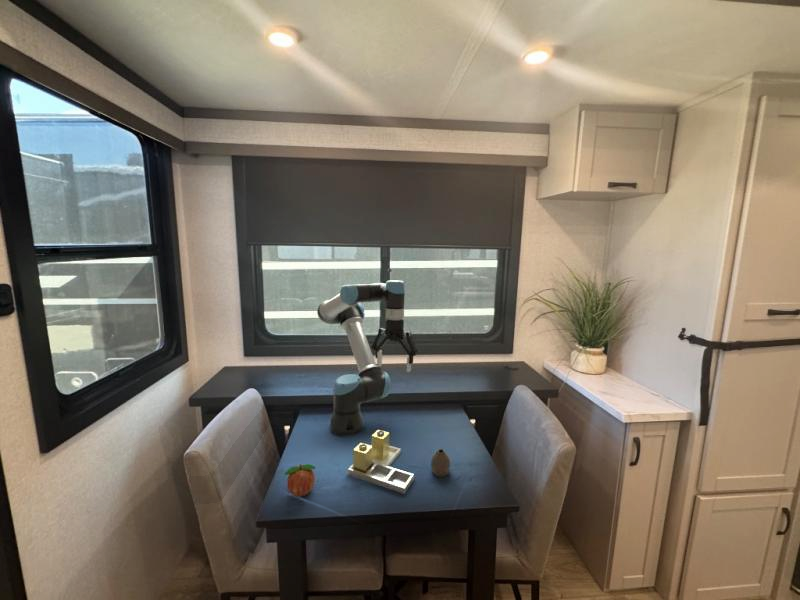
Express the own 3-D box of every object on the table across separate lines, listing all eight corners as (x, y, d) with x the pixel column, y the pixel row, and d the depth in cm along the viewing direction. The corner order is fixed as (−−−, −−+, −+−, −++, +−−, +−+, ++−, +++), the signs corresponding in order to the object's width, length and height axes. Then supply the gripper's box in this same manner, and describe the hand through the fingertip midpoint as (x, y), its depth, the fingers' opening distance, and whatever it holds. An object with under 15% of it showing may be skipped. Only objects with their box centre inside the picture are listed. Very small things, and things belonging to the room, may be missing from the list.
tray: (358, 461, 130) (358, 456, 130) (374, 445, 141) (374, 441, 140) (387, 470, 125) (387, 465, 125) (400, 453, 136) (400, 448, 135)
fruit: (315, 500, 109) (314, 471, 108) (284, 504, 107) (283, 474, 106) (316, 482, 118) (315, 455, 116) (287, 485, 116) (286, 458, 114)
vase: (445, 482, 119) (445, 459, 118) (427, 475, 123) (428, 452, 121) (452, 471, 125) (453, 449, 124) (435, 465, 128) (436, 443, 127)
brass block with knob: (353, 473, 122) (353, 448, 121) (360, 465, 127) (360, 441, 125) (365, 477, 120) (365, 451, 119) (372, 469, 125) (372, 444, 123)
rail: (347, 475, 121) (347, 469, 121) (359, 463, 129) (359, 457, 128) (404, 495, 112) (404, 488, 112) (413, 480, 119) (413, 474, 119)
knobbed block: (377, 450, 136) (378, 428, 135) (389, 454, 134) (389, 431, 133) (371, 457, 132) (371, 434, 130) (383, 461, 129) (383, 437, 128)
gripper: (363, 316, 142) (363, 366, 145) (419, 323, 131) (418, 376, 134) (372, 314, 148) (372, 361, 151) (426, 319, 138) (425, 370, 141)
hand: (393, 368), depth 143 cm, fingers open, 13 cm apart
